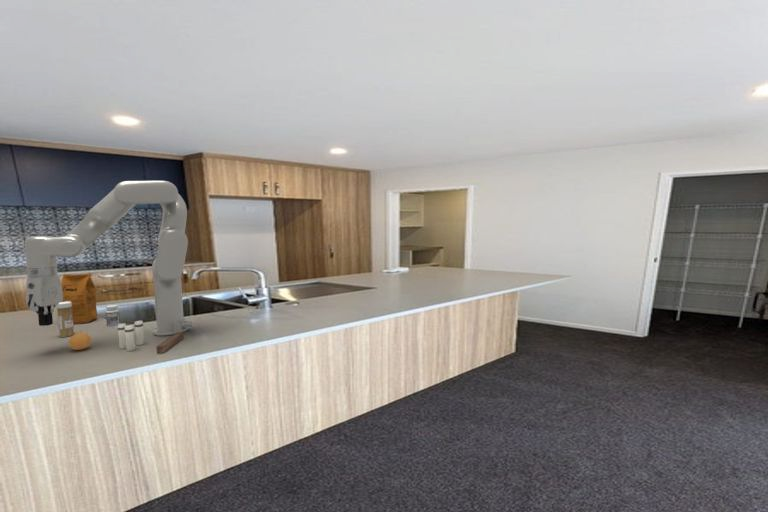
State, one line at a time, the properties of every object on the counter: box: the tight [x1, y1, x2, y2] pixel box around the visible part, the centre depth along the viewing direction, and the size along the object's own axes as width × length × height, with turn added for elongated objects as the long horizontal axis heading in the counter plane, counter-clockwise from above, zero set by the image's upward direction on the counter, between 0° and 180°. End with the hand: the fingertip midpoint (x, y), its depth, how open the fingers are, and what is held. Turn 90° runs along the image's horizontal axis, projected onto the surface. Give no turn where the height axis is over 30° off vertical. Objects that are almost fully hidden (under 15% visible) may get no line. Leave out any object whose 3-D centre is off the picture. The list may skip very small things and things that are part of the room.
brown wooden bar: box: [156, 332, 184, 354], centre depth 130 cm, size 2×16×2 cm, turn 7°
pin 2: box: [133, 320, 145, 346], centre depth 131 cm, size 3×3×8 cm
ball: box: [68, 332, 92, 351], centre depth 126 cm, size 6×6×6 cm
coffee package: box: [61, 272, 99, 325], centre depth 162 cm, size 10×12×22 cm
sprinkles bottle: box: [55, 302, 75, 338], centre depth 142 cm, size 5×5×13 cm
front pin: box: [117, 323, 127, 350], centre depth 128 cm, size 3×3×8 cm
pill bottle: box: [105, 304, 121, 327], centre depth 157 cm, size 5×5×8 cm
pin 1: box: [125, 324, 136, 352], centre depth 125 cm, size 3×3×8 cm
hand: (45, 324), depth 124 cm, fingers closed
